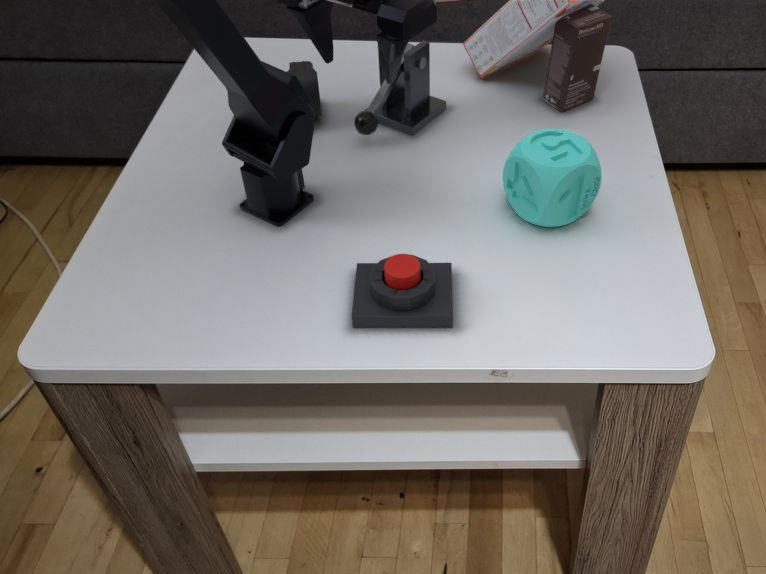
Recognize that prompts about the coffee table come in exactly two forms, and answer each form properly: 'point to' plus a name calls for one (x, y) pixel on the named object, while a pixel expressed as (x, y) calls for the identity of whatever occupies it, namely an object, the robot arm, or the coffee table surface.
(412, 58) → the bracket
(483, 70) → the cracker box
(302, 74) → the dark grey block
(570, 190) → the decorative dice
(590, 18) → the box
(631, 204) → the coffee table surface
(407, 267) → the button
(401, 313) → the control block
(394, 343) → the coffee table surface
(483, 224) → the coffee table surface
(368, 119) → the lever
